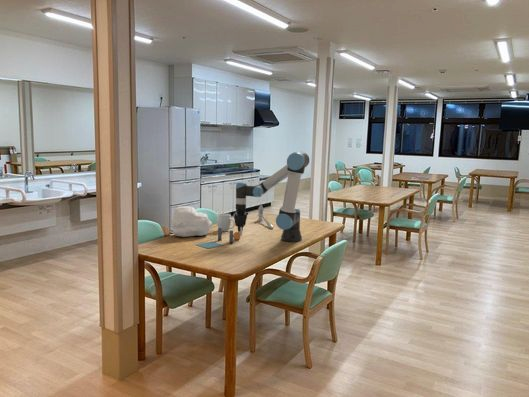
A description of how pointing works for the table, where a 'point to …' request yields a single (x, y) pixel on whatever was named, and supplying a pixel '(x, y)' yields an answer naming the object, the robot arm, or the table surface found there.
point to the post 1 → (219, 234)
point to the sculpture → (190, 222)
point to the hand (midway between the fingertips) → (240, 235)
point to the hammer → (263, 216)
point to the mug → (224, 221)
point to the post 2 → (230, 237)
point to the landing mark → (209, 245)
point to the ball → (236, 235)
